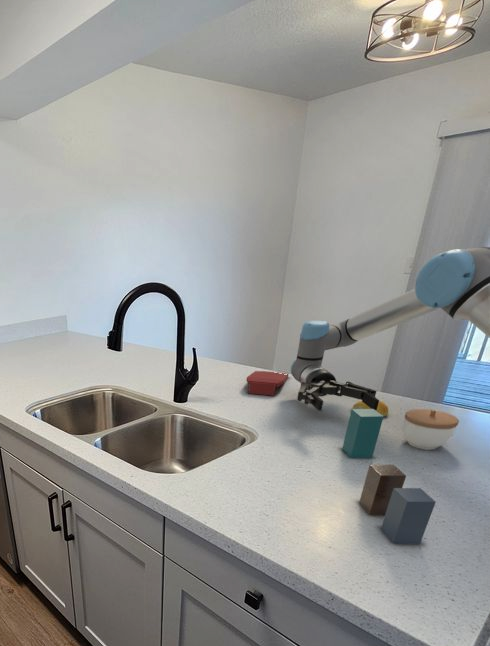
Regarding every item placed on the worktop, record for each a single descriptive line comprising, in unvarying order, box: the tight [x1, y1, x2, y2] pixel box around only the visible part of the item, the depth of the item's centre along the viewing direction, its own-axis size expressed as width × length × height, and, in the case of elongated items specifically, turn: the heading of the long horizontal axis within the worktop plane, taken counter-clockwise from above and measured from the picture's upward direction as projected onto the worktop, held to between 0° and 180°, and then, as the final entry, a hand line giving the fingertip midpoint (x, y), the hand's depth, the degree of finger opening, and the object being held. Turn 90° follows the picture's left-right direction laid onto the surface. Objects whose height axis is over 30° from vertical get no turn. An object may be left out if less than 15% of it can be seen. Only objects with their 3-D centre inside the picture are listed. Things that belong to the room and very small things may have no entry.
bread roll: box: [351, 400, 389, 417], centre depth 130 cm, size 8×9×4 cm
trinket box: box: [402, 408, 460, 451], centre depth 109 cm, size 11×11×9 cm
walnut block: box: [358, 464, 407, 516], centre depth 86 cm, size 4×4×9 cm
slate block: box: [380, 487, 437, 545], centre depth 78 cm, size 4×4×9 cm
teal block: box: [341, 408, 385, 459], centre depth 106 cm, size 5×5×11 cm
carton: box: [246, 370, 289, 397], centre depth 160 cm, size 12×5×25 cm
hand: (348, 405), depth 113 cm, fingers open, 13 cm apart
